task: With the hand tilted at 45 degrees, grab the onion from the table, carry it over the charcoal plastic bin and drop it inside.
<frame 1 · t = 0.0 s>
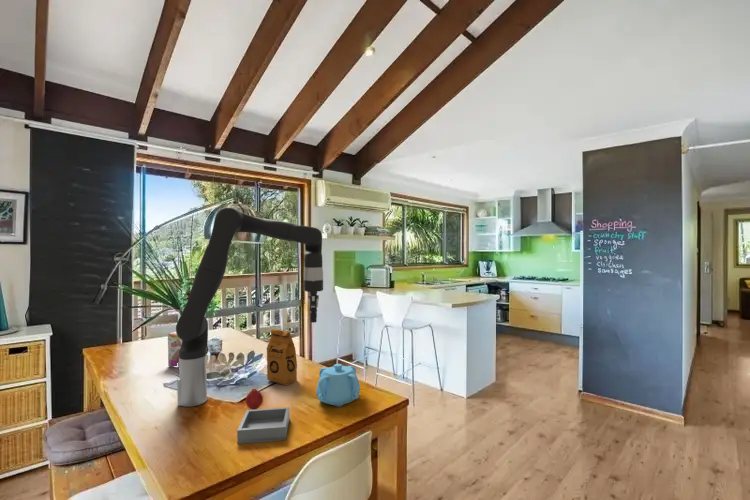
hand: (313, 320, 149), 29 cm above the table, tool pointing down, fingers open, 8 cm apart
decorative pot: (338, 400, 144), on the table
coffee package: (282, 381, 165), on the table
candy bar box: (180, 367, 185), on the table
onion: (254, 410, 136), on the table
bin: (265, 430, 121), on the table
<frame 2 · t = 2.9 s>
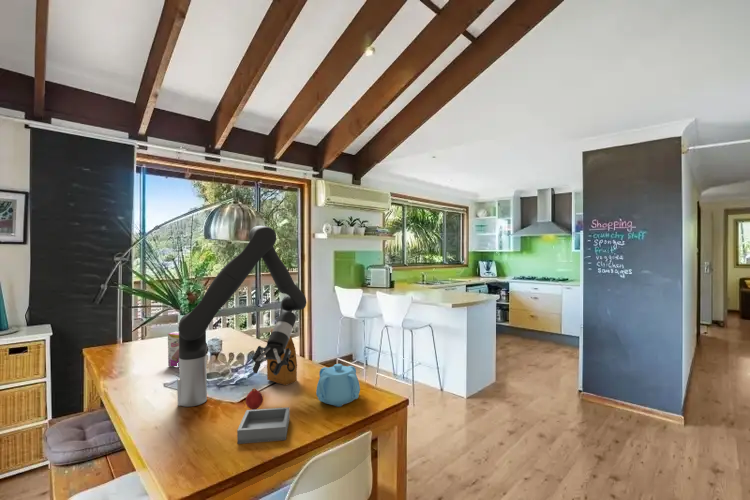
hand: (264, 373, 142), 11 cm above the table, tool tilted 45°, fingers open, 8 cm apart
nothing on the table moved.
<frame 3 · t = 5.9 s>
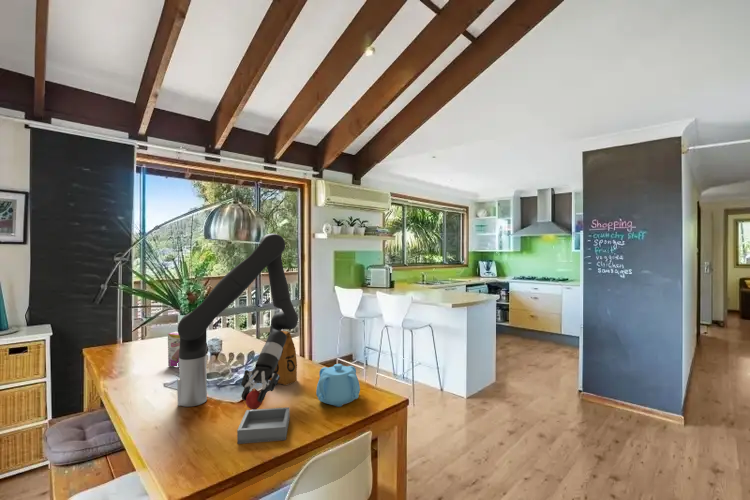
hand: (251, 400, 134), 4 cm above the table, tool tilted 45°, fingers closed on onion, 5 cm apart
onion: (254, 410, 136), on the table, touching gripper
everything else where it was.
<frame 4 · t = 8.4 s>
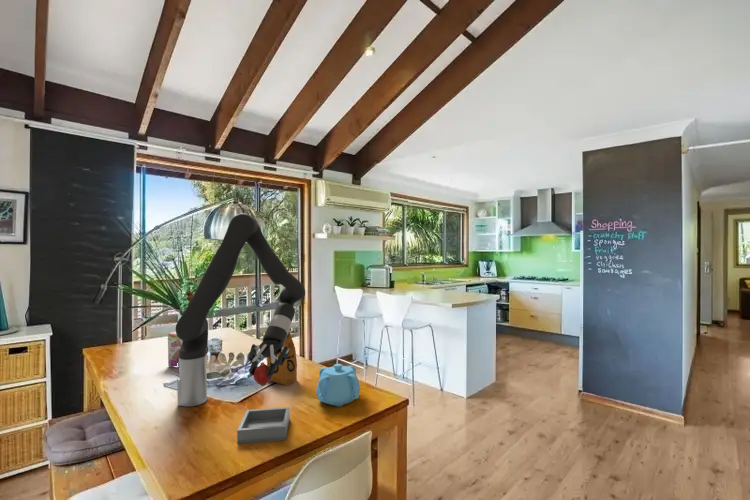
hand: (260, 375, 125), 16 cm above the table, tool tilted 45°, fingers closed on onion, 5 cm apart
onion: (263, 386, 127), point 12 cm above the table, touching gripper
everything else where it was.
when the fingers open (8 cm above the table, at t = 11.2 s): onion drops 2 cm, resting on bin.
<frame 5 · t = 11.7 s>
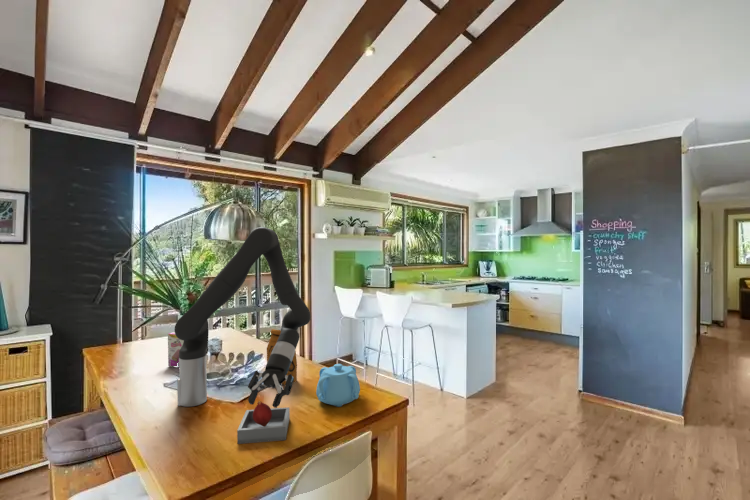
hand: (262, 405, 119), 9 cm above the table, tool tilted 45°, fingers open, 8 cm apart
onion: (265, 426, 121), point 1 cm above the table, touching bin
everything else where it was.
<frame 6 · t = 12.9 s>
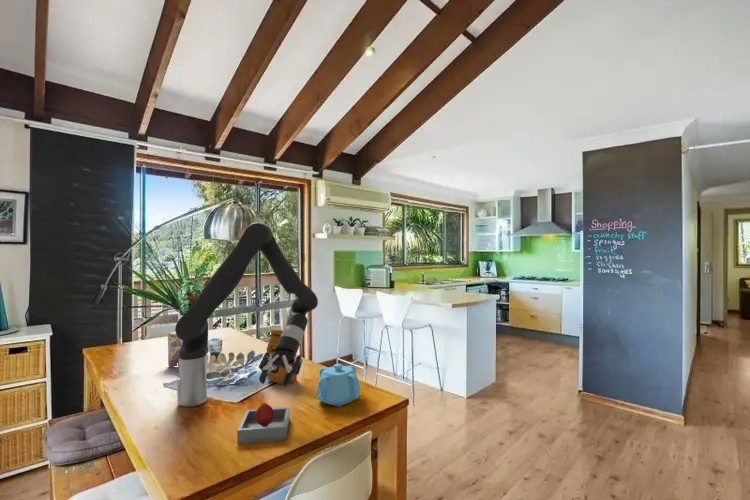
hand: (272, 384, 125), 13 cm above the table, tool tilted 45°, fingers open, 8 cm apart
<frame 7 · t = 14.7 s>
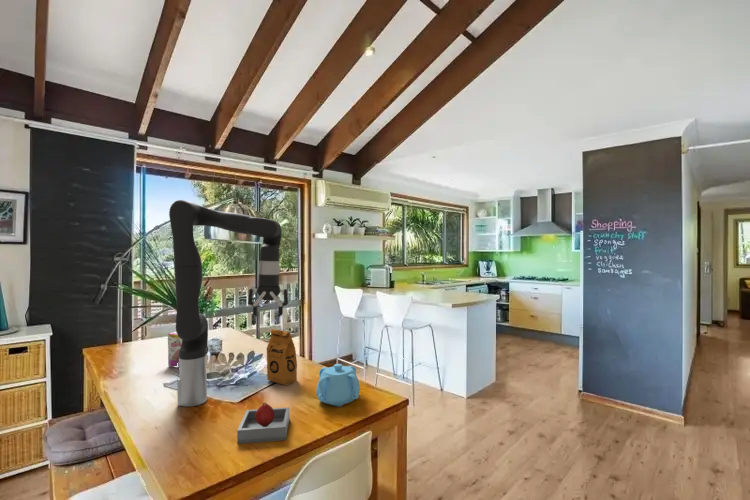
hand: (268, 316, 143), 32 cm above the table, tool pointing down, fingers open, 8 cm apart
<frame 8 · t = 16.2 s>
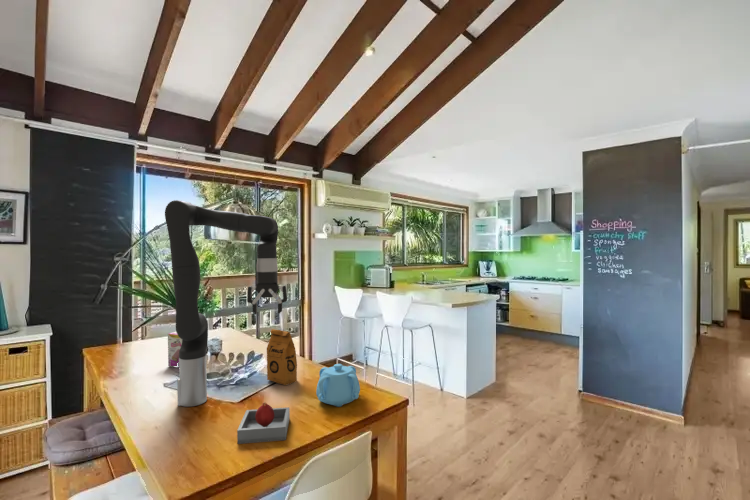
hand: (267, 313, 143), 33 cm above the table, tool pointing down, fingers open, 8 cm apart
at the end: onion inside the target area on the bin (0.3 cm from its centre), point 0.8 cm above the bin's base; the gripper is holding nothing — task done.
